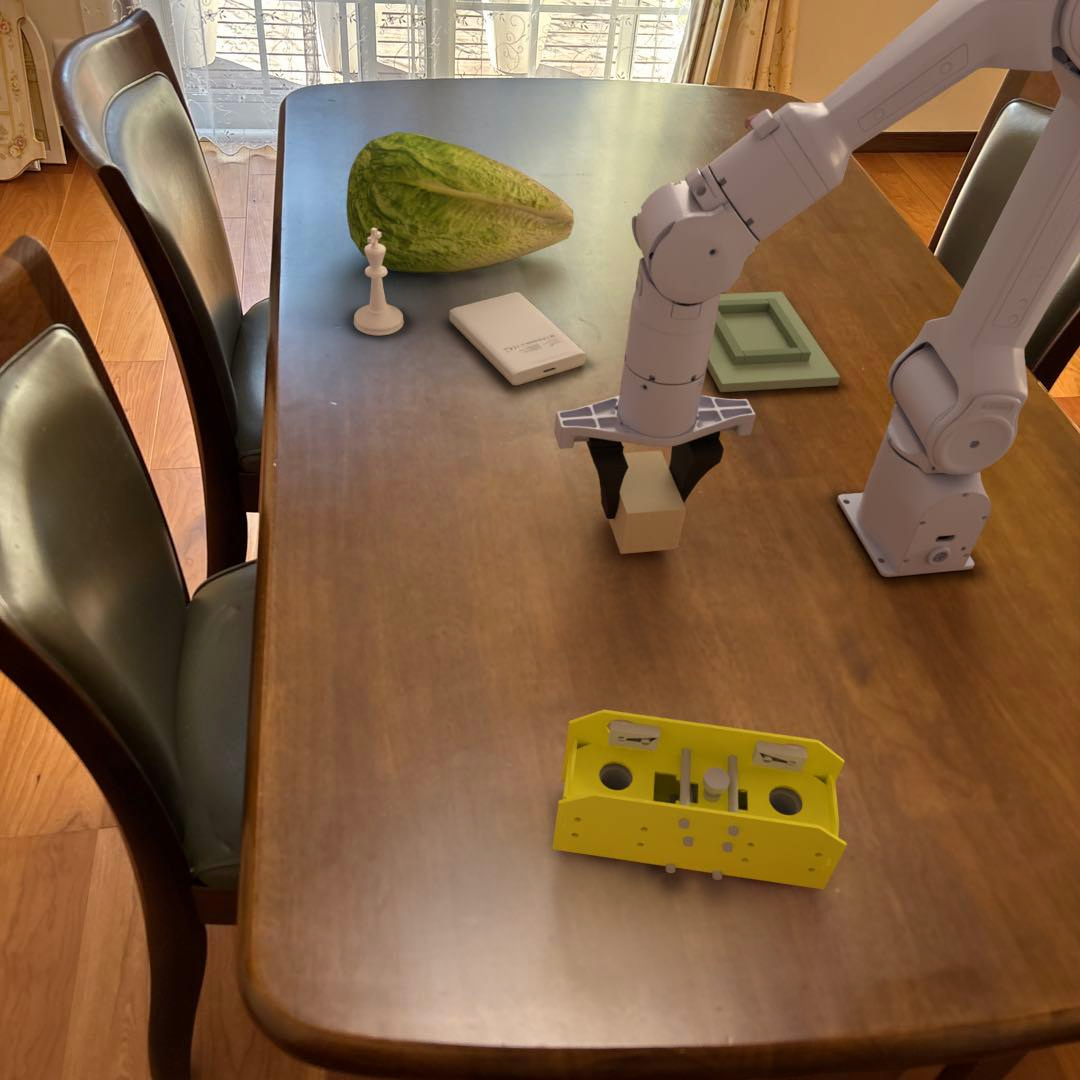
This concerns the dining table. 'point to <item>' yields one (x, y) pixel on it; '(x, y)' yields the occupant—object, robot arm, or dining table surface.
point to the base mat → (765, 346)
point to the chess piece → (377, 295)
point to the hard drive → (516, 338)
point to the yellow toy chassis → (700, 798)
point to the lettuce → (448, 206)
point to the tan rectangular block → (648, 506)
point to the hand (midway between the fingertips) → (640, 507)
